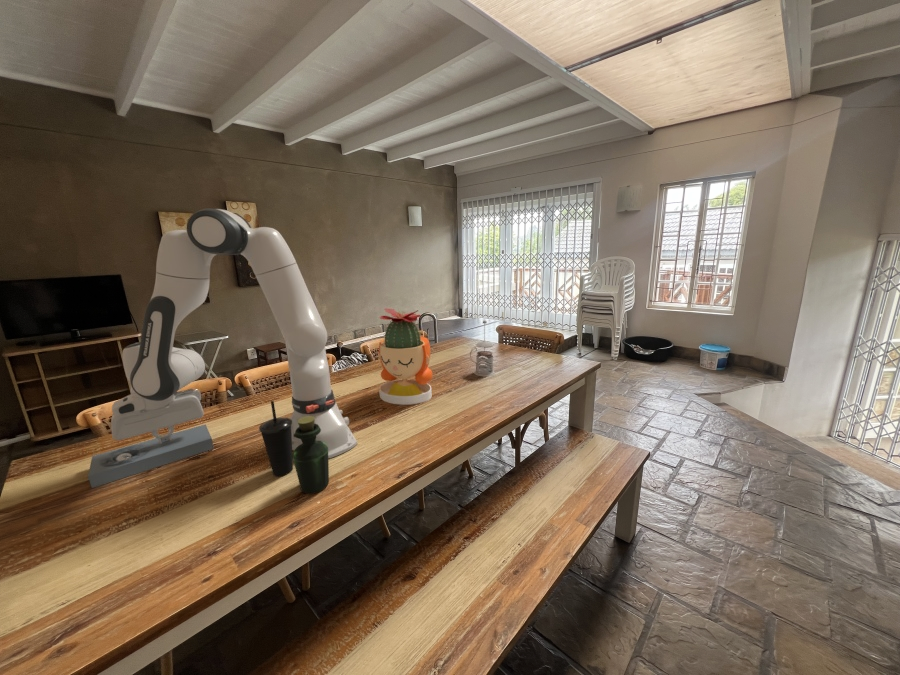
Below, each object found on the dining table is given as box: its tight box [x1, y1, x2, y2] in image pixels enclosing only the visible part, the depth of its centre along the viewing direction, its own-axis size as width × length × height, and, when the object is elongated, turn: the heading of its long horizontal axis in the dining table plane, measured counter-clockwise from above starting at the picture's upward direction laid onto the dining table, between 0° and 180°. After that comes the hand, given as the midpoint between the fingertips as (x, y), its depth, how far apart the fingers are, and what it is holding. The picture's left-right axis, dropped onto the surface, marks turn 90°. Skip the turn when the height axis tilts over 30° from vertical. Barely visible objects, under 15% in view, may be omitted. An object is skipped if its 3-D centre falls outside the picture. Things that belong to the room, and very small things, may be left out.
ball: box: [115, 453, 133, 461], centre depth 96 cm, size 4×4×4 cm
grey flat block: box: [87, 423, 215, 489], centre depth 100 cm, size 26×12×4 cm, turn 131°
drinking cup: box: [258, 400, 294, 477], centre depth 90 cm, size 8×8×20 cm
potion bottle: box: [292, 416, 330, 495], centre depth 84 cm, size 8×8×18 cm
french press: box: [469, 320, 496, 377], centre depth 160 cm, size 10×12×25 cm
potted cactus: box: [377, 308, 434, 406], centre depth 138 cm, size 22×22×35 cm
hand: (165, 441), depth 101 cm, fingers closed
